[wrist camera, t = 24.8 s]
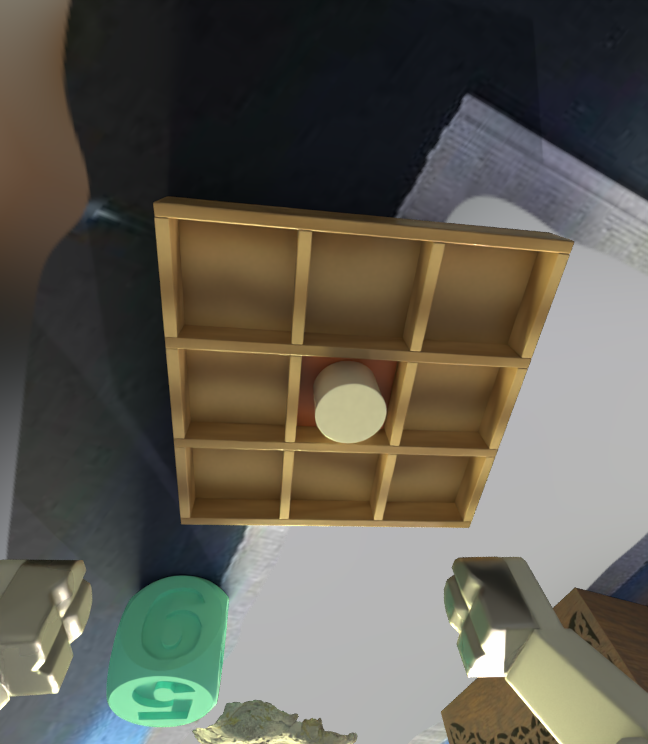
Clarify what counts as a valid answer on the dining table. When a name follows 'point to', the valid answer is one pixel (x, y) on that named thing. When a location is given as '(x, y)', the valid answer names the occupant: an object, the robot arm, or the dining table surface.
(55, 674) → the robot arm
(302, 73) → the dining table surface
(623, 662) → the tissue box cover
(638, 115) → the dining table surface
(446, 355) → the board
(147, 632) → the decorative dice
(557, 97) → the dining table surface
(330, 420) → the white cylinder
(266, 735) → the rock
